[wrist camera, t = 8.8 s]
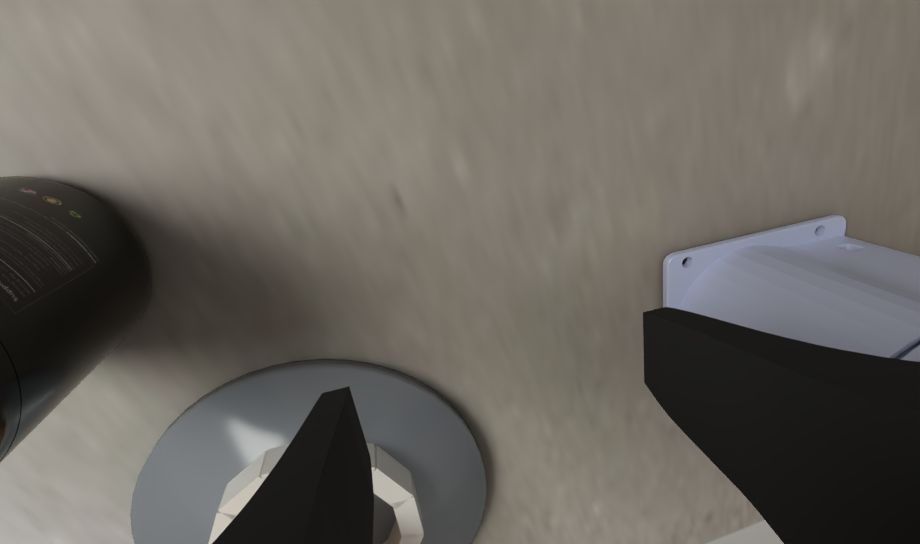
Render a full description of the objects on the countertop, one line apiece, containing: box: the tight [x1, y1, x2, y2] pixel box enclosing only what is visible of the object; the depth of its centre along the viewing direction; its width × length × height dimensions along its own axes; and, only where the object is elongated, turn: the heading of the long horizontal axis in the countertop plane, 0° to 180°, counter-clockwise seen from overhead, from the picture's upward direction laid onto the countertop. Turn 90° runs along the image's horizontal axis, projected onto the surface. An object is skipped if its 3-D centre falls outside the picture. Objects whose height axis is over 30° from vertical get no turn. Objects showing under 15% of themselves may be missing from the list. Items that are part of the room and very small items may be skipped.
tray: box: [131, 359, 487, 544], centre depth 22 cm, size 16×16×2 cm
